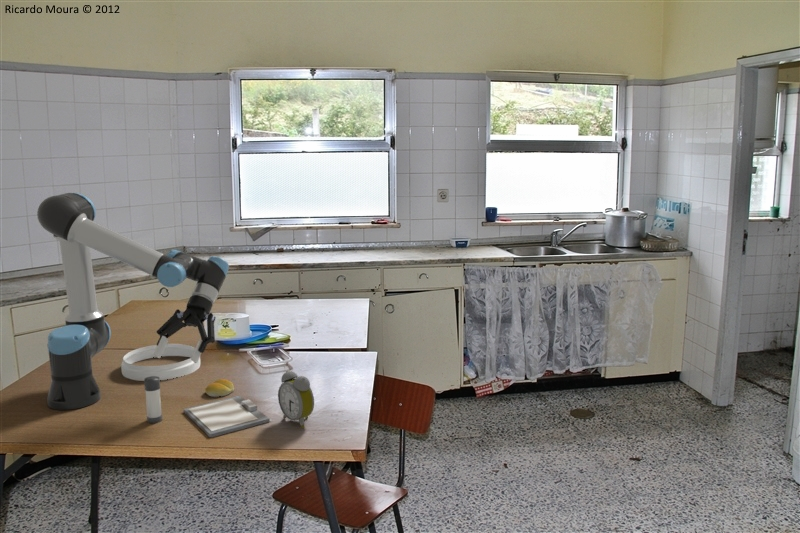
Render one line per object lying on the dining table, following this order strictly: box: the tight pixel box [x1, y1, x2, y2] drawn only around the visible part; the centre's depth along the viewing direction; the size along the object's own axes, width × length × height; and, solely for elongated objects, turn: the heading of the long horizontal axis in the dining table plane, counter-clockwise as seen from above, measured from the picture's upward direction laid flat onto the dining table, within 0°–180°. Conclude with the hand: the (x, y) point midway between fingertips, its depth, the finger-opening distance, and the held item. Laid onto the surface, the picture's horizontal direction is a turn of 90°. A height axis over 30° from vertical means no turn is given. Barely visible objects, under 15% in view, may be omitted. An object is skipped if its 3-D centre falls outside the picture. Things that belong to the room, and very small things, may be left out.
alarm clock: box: [277, 370, 315, 429], centre depth 192 cm, size 12×7×15 cm, turn 44°
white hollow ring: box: [120, 343, 201, 382], centre depth 239 cm, size 27×27×6 cm
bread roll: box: [205, 378, 235, 398], centre depth 216 cm, size 8×9×4 cm
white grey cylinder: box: [143, 376, 163, 424], centre depth 193 cm, size 4×4×13 cm
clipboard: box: [183, 395, 271, 438], centre depth 197 cm, size 22×18×2 cm
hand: (174, 358), depth 201 cm, fingers open, 13 cm apart
